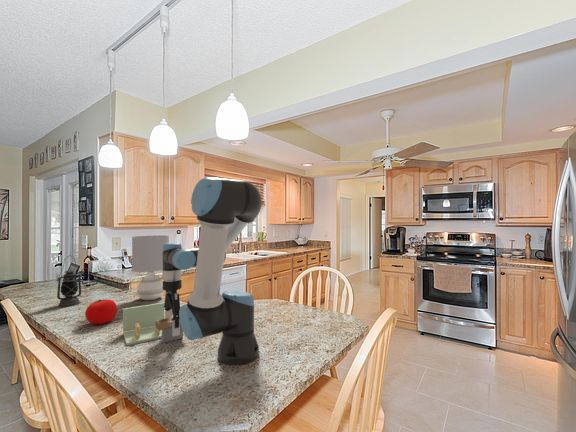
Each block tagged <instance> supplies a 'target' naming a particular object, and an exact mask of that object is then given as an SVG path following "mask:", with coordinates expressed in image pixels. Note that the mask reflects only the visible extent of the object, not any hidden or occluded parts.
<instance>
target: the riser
mask: <svg viewBox="0 0 576 432" xmlns="http://www.w3.org/2000/svg"><path fill="white" fill-rule="evenodd" d="M181 338H183V339H184V332H183V330H182V327H181V326H180V335H178V336H172V328H169V329H165V330H162V338H161V342H162V344H164V342H165V343H169V341H170V342H173V340H174V341H178V340H177V339H179V340H182V339H181Z"/></svg>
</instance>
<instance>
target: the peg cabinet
mask: <svg viewBox="0 0 576 432" xmlns="http://www.w3.org/2000/svg"><path fill="white" fill-rule="evenodd" d="M164 303H165V302H157V303H151V304H146V305H138V306H137V305H136V306H132V307H131V306H130V307H126V308H122V334H123V335H122V336H123V338H124V341H125V346H132V345H136V344H140V343H145V342H149V341H155V340H160V339H162V330H160V331H158V329H157V328H156V320H160V319H165V308H164ZM159 338H160V339H159Z"/></svg>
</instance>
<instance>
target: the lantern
mask: <svg viewBox="0 0 576 432" xmlns="http://www.w3.org/2000/svg"><path fill="white" fill-rule="evenodd" d="M69 257H71V258H73V260H74V263H75V267H76V269H77V272H78V273H79V274H77V273H76V270H72V269H68V270H66V271H62V270H64V267H65V264H63V266H62V268H61V270H60V273H59V275H58V277H57V278H56V282H58V283H57V292H56V299H57V300H59V303H58V305H57V306H58V307H59V308H65V307H66V308H68V307H72V306H73V307H74V306H77V305H80V304H81V301H80V299H79V297H80V296H81V295H82V284H81V279H82V274H81V273H80V270H79V268H78V266H77V262H76V260H75V257H73V256H72V255H71V254H69V255H68V256H67V257H65V258H64V260H63V263H65V261H66V259H67V258H69ZM62 272H63V273H65V274H62ZM61 274H62V276H61ZM77 277H78V278H77ZM75 278H76V279H77V280H76V279H75ZM61 279H64V280H62V282H61ZM77 281H78V282H77ZM77 292H78V294H77ZM60 293H61V294H60ZM60 295H62V296H63V297H61V296H60Z"/></svg>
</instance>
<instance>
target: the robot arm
mask: <svg viewBox="0 0 576 432" xmlns="http://www.w3.org/2000/svg"><path fill="white" fill-rule="evenodd" d="M190 204H191V210H192V212H193V214H194V215H196V220H197V221H198V223H200V232H199V239H198V241H199V242H198V247H197V248H196V247H195V248H182V244H181V243H180V242H169V243H166V244H164V245H163V251H162V256H163V270H161V273H162V279H161V280H162V281H163V290H165V291H164V292H165V293H164V294H165V295H164V302H163V303H164V319H166V318H171V317H173V318H172V319H171V320H172V336H178V335H180V324H181V327H182V330H183V335H184V336H185V337H186V338H187V339H188V340H189V341H196V340H199V339H200V340H202V339H204V338H207V337H211V336H215V335H218V334H221V333H222V335H221V339H220V342H219V344H218V349H217V360H218V361H219V362H221V363H223V364H226V365H232V366H233V365H243V364H247V363H251V362H252V361H254V360H257V358H258V357H259V355H260V348H259V343H258V341H257V338H256V335H255V301H254V299H255V298H254V295H253V294H252V293H249V292H247V291H240V290H239V291H238V290H229V291H227V290H226V291H223V292H222V293H220V292H221V286H222V278H223V271H224V264H225V261H226V258H227V250H228V249H229V248H230V247H231V245H233V243H234V241H235V240H236V239H237V238H238V236H239V235H240V234H241V233H242V232H243V230H244V229H245V228H246V226H247V225H248V224H250V223H253V222H254V221H255V220H256V218H257V217H258V216H259V214H260V212H261V210H262V204H263V200H262V195H261V192H260V191H259V189H258V187H256V185H254V184H253V183H251V182H250V181H247V180H241V179H229V178H219V177H204V178H201V179H200V180H199V181H198V182H197V183H196V184H195V186H194V188H193V191H192V194H191V200H190ZM192 268H195V274H194V275H195V276H194V283H193V284H194V285H193V292H192V293H190V294H188V297H187V302H186V304H183V305H181V302H180V293H178V292H177V291H178V290H181V289H182V287H183V286H182V284H183V281H182V274H183V272H184V271H183V270H190V269H192Z"/></svg>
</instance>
